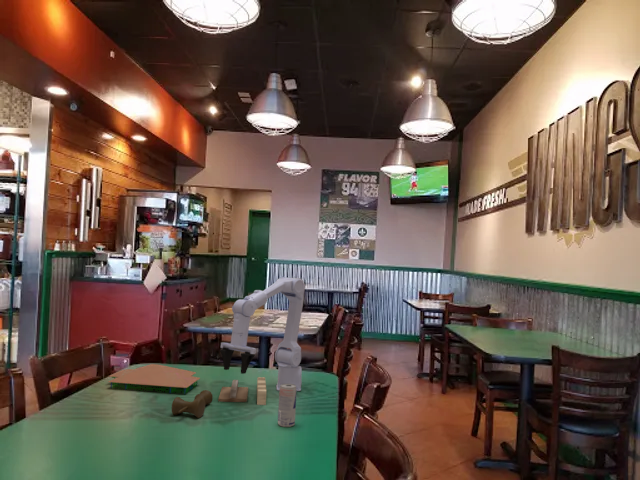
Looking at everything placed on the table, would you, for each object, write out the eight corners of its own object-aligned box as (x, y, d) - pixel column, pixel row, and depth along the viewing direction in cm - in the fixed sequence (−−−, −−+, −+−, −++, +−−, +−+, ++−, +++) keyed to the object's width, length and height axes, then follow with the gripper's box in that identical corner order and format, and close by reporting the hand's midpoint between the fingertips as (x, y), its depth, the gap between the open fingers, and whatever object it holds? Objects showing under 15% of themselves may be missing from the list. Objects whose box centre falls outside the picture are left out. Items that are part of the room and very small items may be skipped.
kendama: (219, 406, 169) (192, 423, 150) (193, 404, 171) (163, 420, 151) (219, 389, 169) (193, 403, 150) (194, 387, 171) (164, 401, 152)
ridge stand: (248, 389, 190) (248, 379, 190) (246, 402, 174) (247, 390, 174) (222, 389, 189) (222, 378, 189) (218, 401, 173) (218, 390, 173)
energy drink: (295, 422, 155) (297, 384, 156) (293, 428, 150) (295, 388, 150) (279, 420, 156) (281, 382, 156) (276, 426, 150) (278, 387, 151)
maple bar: (256, 390, 191) (257, 377, 192) (264, 390, 192) (265, 377, 192) (257, 405, 172) (257, 391, 172) (265, 405, 172) (266, 391, 172)
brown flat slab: (129, 375, 205) (131, 356, 205) (206, 381, 202) (207, 361, 202) (100, 390, 182) (101, 367, 182) (186, 396, 179) (187, 374, 179)
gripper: (217, 330, 176) (211, 368, 175) (249, 335, 169) (244, 375, 168) (229, 330, 182) (224, 367, 181) (261, 335, 175) (256, 374, 174)
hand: (234, 371), depth 175 cm, fingers open, 7 cm apart
